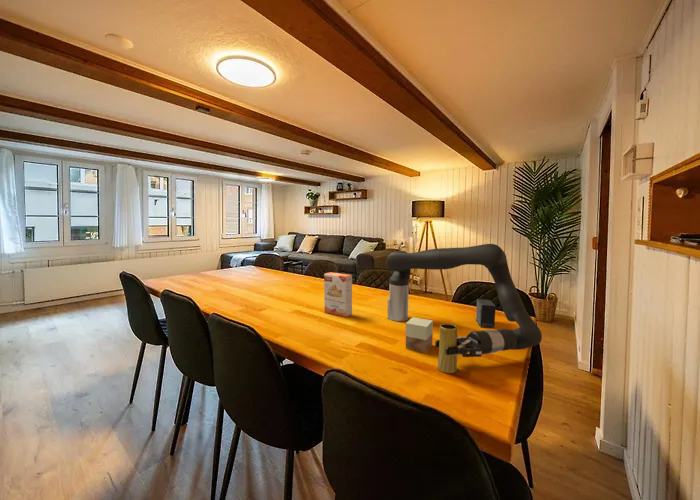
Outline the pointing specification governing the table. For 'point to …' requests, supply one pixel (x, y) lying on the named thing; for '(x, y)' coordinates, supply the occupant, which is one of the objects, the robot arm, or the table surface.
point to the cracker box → (338, 294)
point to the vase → (446, 340)
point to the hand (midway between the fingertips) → (441, 347)
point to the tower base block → (419, 344)
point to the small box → (485, 313)
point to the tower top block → (419, 328)
